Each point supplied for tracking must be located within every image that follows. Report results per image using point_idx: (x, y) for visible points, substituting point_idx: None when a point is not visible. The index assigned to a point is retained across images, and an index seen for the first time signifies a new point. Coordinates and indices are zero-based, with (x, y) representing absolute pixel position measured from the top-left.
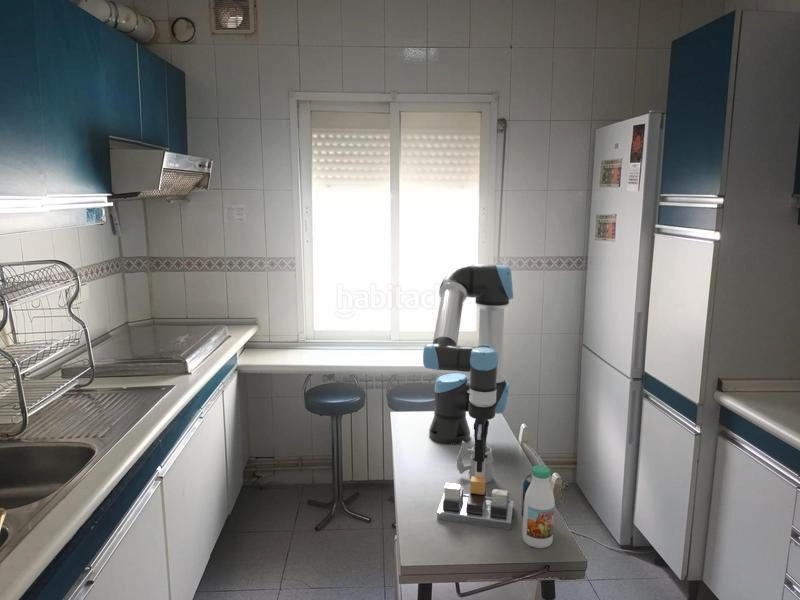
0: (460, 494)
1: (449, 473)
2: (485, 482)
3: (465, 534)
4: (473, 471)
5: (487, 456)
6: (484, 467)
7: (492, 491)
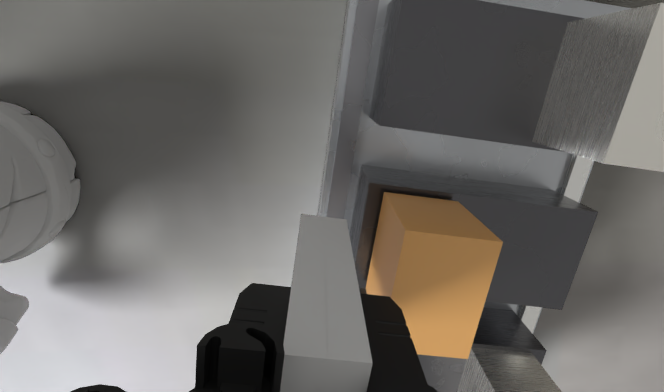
0: None
1: (17, 345)
2: (399, 214)
3: (624, 256)
4: (18, 248)
5: (231, 337)
6: (330, 285)
7: (656, 169)
